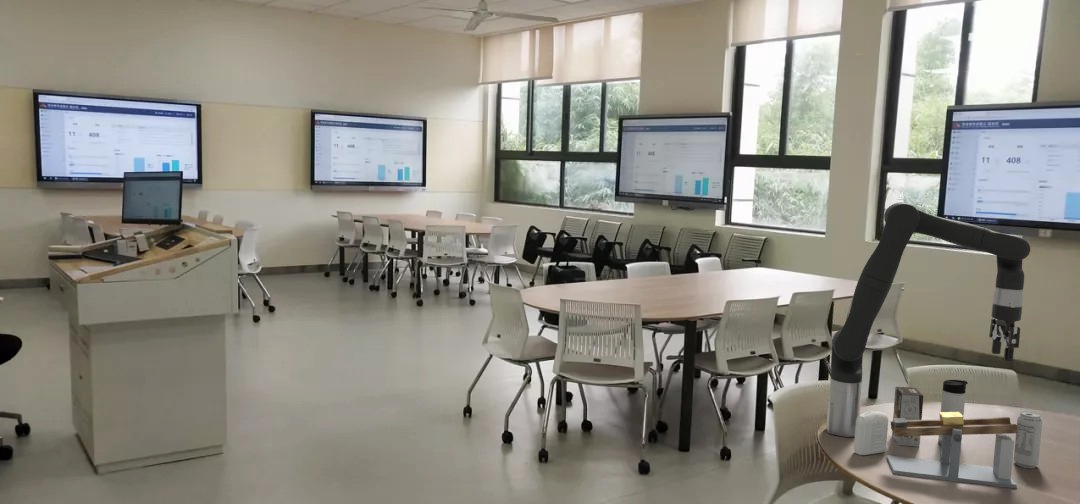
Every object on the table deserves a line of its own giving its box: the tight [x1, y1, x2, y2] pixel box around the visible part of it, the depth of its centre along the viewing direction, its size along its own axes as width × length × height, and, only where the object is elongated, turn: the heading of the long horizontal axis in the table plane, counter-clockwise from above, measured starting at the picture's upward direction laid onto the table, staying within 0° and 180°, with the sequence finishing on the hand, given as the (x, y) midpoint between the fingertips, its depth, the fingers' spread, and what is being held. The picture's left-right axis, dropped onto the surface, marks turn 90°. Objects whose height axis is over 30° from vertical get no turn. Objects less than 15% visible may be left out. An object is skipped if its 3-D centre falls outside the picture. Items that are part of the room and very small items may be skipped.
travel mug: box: [938, 379, 968, 445], centre depth 237 cm, size 6×7×20 cm
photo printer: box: [853, 410, 889, 456], centre depth 229 cm, size 10×4×12 cm, turn 115°
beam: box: [890, 416, 1018, 437], centre depth 213 cm, size 30×7×4 cm, turn 74°
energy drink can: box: [1013, 411, 1043, 469], centre depth 221 cm, size 6×6×15 cm
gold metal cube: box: [938, 411, 964, 426], centre depth 213 cm, size 5×4×4 cm
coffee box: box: [891, 386, 924, 448], centre depth 239 cm, size 9×6×16 cm
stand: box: [886, 428, 1018, 489], centre depth 214 cm, size 30×13×14 cm, turn 74°
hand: (1001, 357), depth 230 cm, fingers open, 8 cm apart
